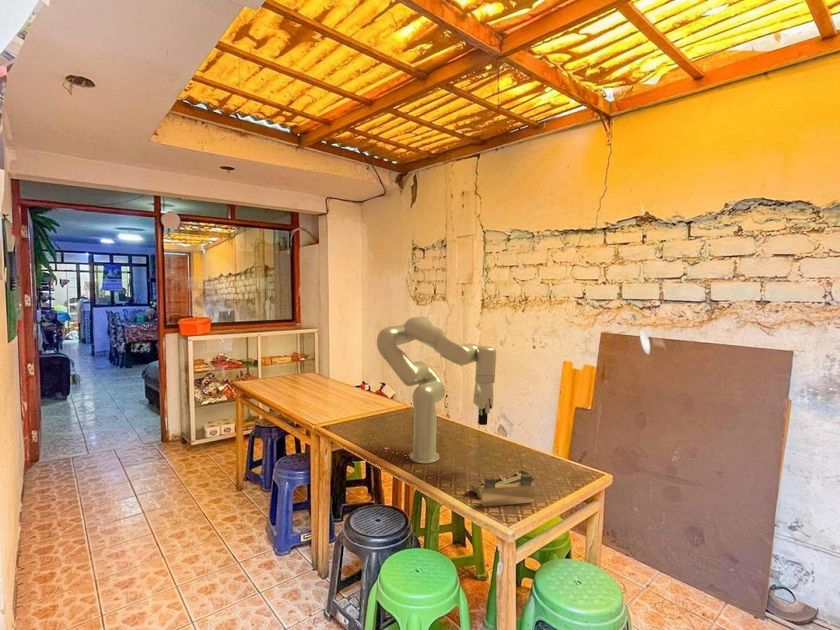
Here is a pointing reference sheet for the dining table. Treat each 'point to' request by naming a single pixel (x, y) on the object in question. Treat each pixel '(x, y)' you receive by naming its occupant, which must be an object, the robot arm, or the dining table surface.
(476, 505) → the dining table surface
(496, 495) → the notched board
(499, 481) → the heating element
